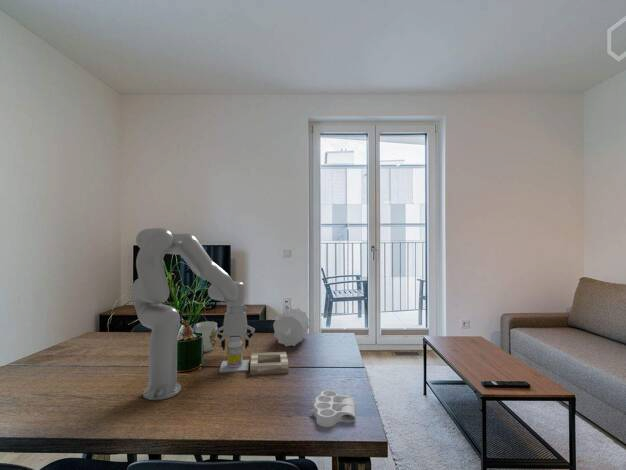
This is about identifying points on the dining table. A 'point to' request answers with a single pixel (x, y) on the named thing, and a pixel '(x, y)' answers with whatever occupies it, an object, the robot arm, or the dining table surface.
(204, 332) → the pitcher
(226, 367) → the grey mat
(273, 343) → the dining table surface
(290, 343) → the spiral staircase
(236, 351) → the supplement bottle
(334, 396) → the white scalloped holder tray
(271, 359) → the cup holder
